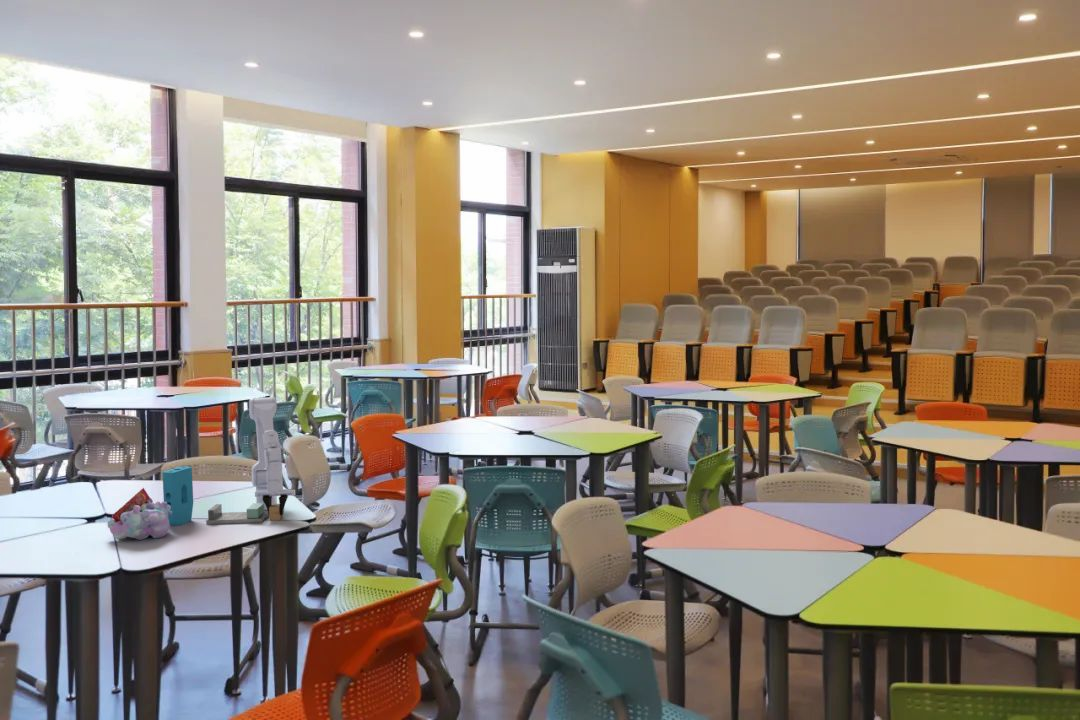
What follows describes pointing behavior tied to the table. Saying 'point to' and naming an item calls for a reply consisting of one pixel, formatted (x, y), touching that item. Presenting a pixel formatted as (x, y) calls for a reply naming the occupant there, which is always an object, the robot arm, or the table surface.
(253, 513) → the block
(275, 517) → the walnut block
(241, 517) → the vise
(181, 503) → the block
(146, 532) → the lumpy lavender blob
